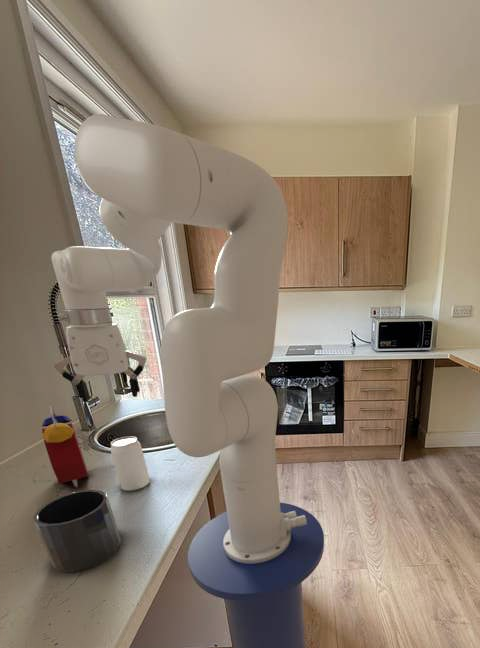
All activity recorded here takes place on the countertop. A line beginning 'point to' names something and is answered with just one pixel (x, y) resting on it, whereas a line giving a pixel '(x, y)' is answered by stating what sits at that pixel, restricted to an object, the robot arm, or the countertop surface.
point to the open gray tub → (78, 530)
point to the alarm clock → (65, 448)
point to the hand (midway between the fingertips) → (111, 397)
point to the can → (129, 463)
